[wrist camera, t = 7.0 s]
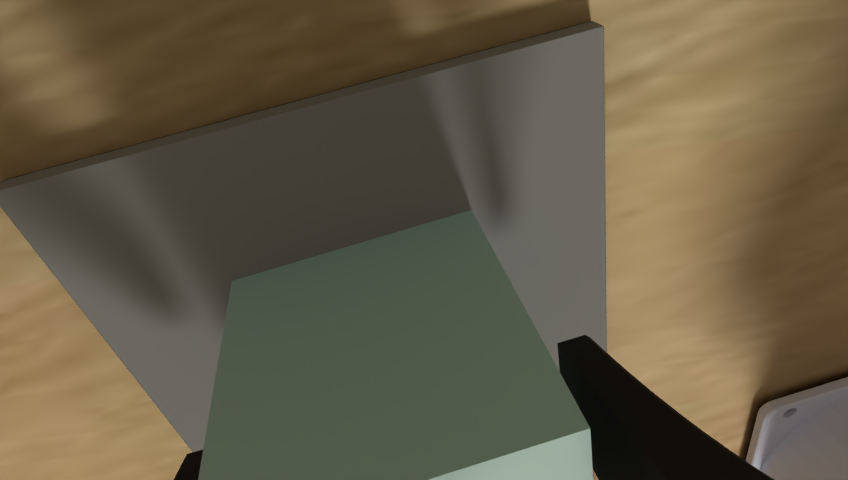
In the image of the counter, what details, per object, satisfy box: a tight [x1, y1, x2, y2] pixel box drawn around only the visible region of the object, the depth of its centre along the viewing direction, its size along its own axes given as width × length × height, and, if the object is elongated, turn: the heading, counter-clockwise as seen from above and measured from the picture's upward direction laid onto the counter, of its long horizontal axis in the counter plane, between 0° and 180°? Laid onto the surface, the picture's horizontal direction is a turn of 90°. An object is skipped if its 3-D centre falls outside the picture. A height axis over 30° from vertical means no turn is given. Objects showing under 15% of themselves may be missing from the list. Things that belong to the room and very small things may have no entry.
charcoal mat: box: [0, 21, 607, 452], centre depth 14 cm, size 12×12×1 cm
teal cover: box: [198, 210, 593, 480], centre depth 11 cm, size 6×6×6 cm
